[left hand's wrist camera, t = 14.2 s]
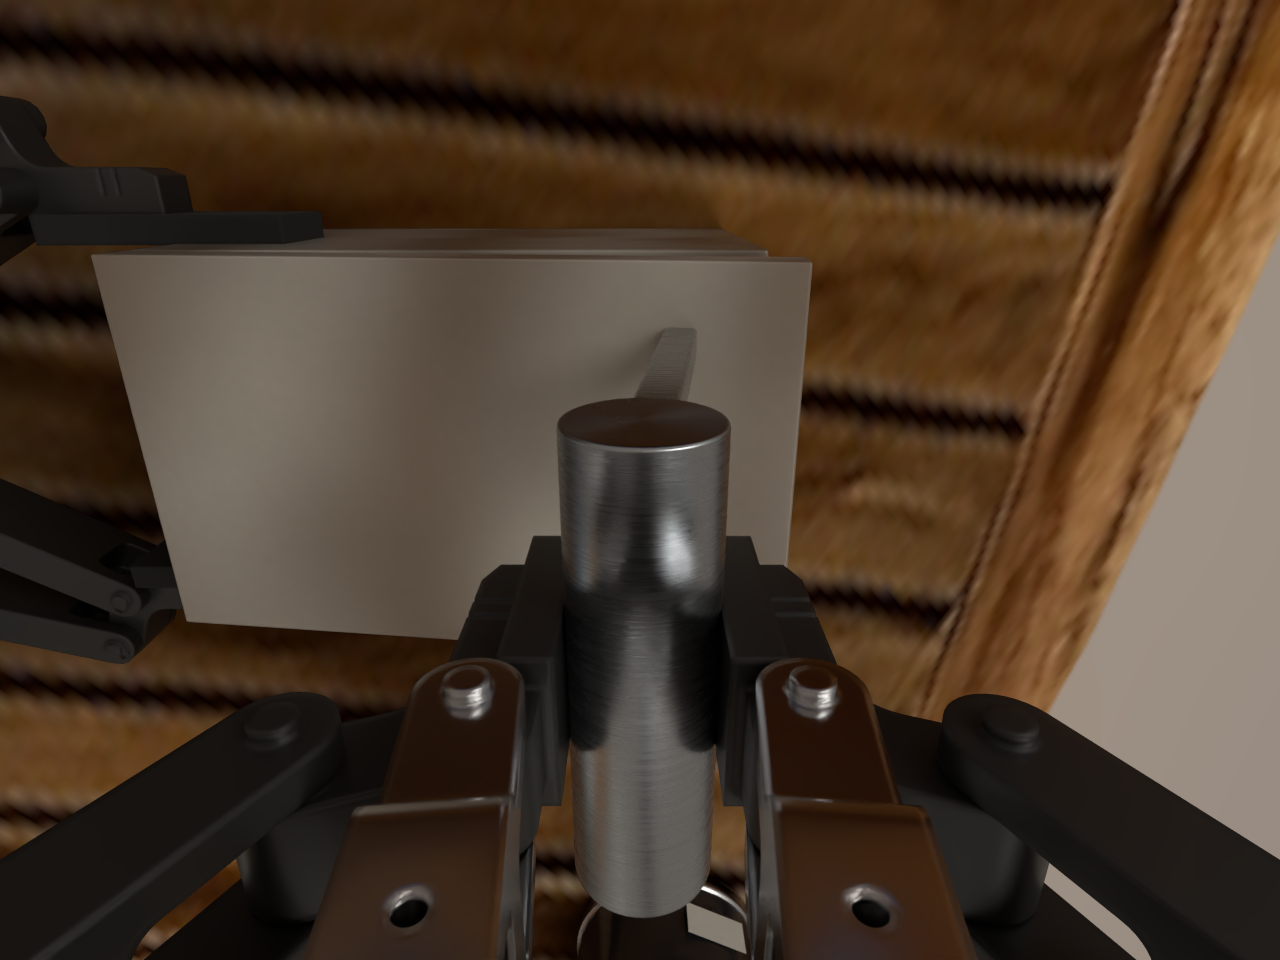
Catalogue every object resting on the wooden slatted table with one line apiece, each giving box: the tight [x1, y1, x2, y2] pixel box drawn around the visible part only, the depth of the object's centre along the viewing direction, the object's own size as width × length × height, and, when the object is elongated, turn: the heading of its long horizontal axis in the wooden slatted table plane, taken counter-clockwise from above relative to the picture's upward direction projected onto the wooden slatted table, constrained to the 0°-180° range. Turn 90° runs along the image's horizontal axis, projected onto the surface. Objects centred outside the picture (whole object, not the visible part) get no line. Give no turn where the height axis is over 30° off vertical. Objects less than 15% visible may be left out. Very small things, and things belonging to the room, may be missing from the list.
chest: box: [130, 229, 768, 257], centre depth 24 cm, size 15×10×10 cm, turn 90°
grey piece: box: [91, 251, 812, 918], centre depth 14 cm, size 16×10×9 cm, turn 90°
